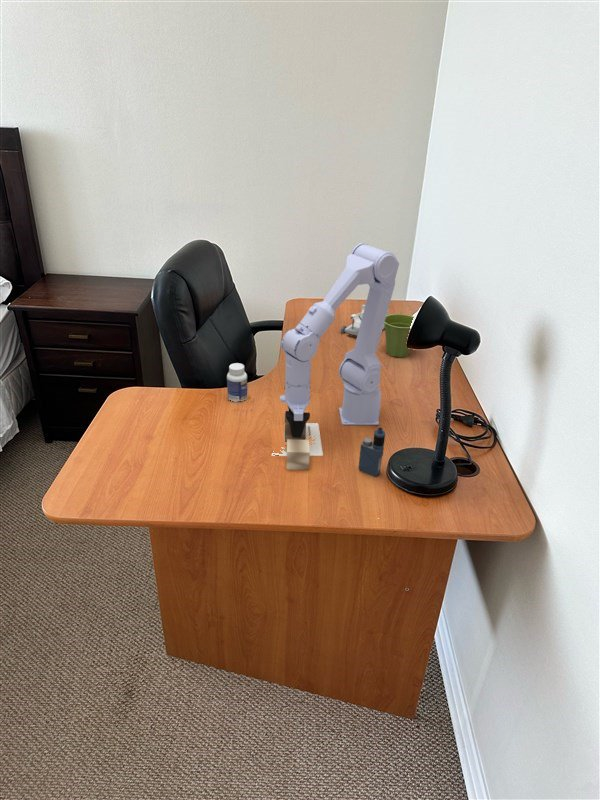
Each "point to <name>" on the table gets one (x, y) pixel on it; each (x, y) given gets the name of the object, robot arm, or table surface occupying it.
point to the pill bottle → (237, 382)
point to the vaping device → (372, 453)
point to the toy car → (355, 323)
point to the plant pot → (397, 334)
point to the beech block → (298, 454)
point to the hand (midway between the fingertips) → (296, 430)
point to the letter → (314, 448)
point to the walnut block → (288, 432)
